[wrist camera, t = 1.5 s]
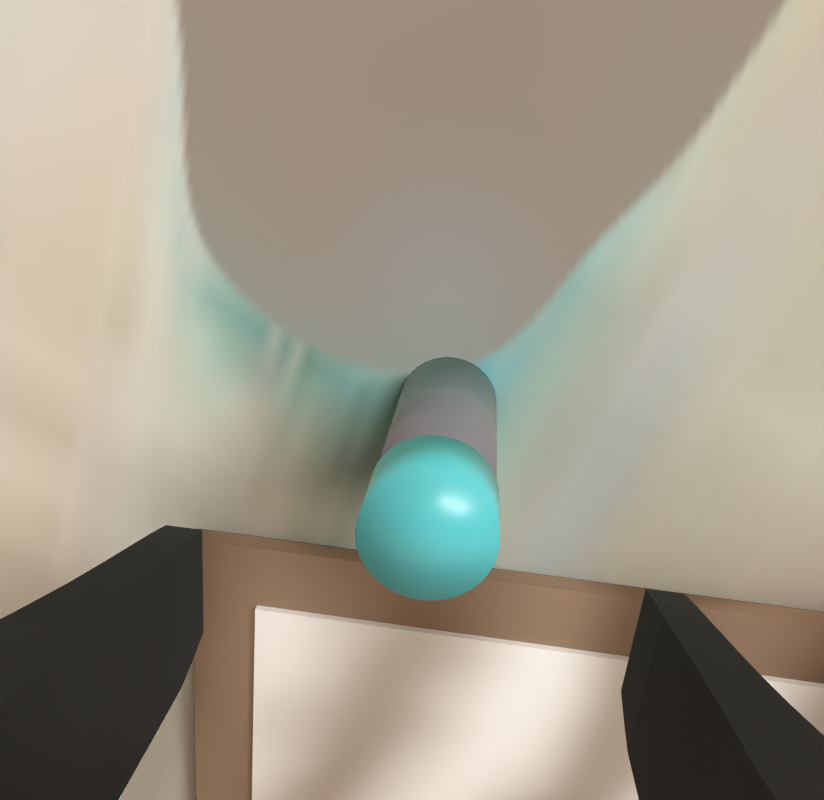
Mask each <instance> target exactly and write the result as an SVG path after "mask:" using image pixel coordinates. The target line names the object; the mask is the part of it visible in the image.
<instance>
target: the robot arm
mask: <svg viewBox="0 0 824 800" xmlns="http://www.w3.org/2000/svg"><path fill="white" fill-rule="evenodd" d="M203 632H204V630H203V558H202V530H198V529H190V528H183V527H175V526H167V525H166V526H164V527H162V528H160V529H158V530H156V531H155V532H153V533H151V534H149V535H148V536H146V537H144V538H143V539H141V540H139V541H138V542H136V543H134V544H133V545H131V546H129V547H128V548H126V549H125V550H123V551H121V552H120V553H118V554H116V555H115V556H113V557H111V558H110V559H108V560H106V561H105V562H103V563H101V564H100V565H98V566H96V567H95V568H93V569H91V570H90V571H88V572H86V573H84V574H83V575H81V576H79V577H78V578H76V579H74V580H73V581H71V582H69V583H67V584H66V585H64V586H62V587H60V588H58V589H56V590H55V591H53V592H51V593H49V594H47V595H45V596H43V597H41V598H40V599H38V600H36V601H34V602H32V603H30V604H28V605H27V606H25V607H23V608H21V609H19V610H17V611H15V612H14V613H12V614H10V615H8V616H6V617H4V618H1V619H0V800H118V799H119V798H120V796H121V794H122V792H123V791H124V789H125V787H126V785H127V784H128V782H129V780H130V778H131V776H132V775H133V773H134V771H135V769H136V768H137V766H138V764H139V762H140V761H141V759H142V757H143V755H144V753H145V752H146V750H147V748H148V746H149V745H150V743H151V741H152V739H153V738H154V736H155V734H156V732H157V731H158V729H159V727H160V725H161V723H162V722H163V720H164V718H165V716H166V714H167V713H168V711H169V709H170V707H171V705H172V704H173V702H174V700H175V698H176V696H177V694H178V693H179V691H180V689H181V687H182V685H183V682H184V680H185V678H186V675H187V673H188V670H189V668H190V665H191V663H192V661H193V658H194V655H195V653H196V650H197V648H198V645H199V642H200V640H201V637H202V635H203ZM621 696H622V706H623V717H624V726H625V735H626V743H627V751H628V756H629V760H630V765H631V769H632V773H633V777H634V782H635V786H636V790H637V794H638V799H639V800H824V735H823V734H822V733H820V732H819V731H818V730H817V729H816V728H815V727H814V726H813V725H812V724H811V723H810V722H809V721H808V720H807V719H805V718H804V717H803V716H802V715H801V714H800V713H799V712H798V711H797V710H796V709H795V708H794V707H793V706H791V705H790V704H789V703H788V702H787V701H786V700H785V699H784V698H783V697H782V696H781V695H780V694H779V693H778V692H777V691H776V690H775V689H774V688H773V687H772V686H771V685H770V684H769V683H768V682H767V681H766V680H765V679H764V678H763V677H762V676H761V675H760V674H759V673H758V672H757V671H756V669H755V668H754V667H753V666H752V665H751V664H750V663H749V662H748V661H747V660H746V659H745V658H744V657H743V656H742V655H741V654H740V653H739V652H738V651H737V649H736V648H735V647H734V646H733V645H732V644H731V643H730V642H729V641H728V640H727V639H726V638H725V636H724V635H723V634H722V633H721V632H720V631H719V630H718V629H717V628H716V627H715V626H714V624H713V623H712V622H711V621H710V620H709V619H708V618H707V617H706V616H705V615H704V614H703V612H702V611H701V610H700V609H699V608H698V607H697V606H696V605H695V604H694V603H693V602H692V601H691V600H690V599H689V598H688V597H687V596H686V595H685V594H681V593H673V592H666V591H658V590H651V589H645V593H644V598H643V602H642V606H641V610H640V614H639V618H638V622H637V626H636V631H635V635H634V639H633V643H632V647H631V651H630V655H629V660H628V664H627V668H626V672H625V676H624V680H623V684H622V688H621Z"/></svg>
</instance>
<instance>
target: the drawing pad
mask: <svg viewBox="0 0 824 800" xmlns="http://www.w3.org/2000/svg"><path fill="white" fill-rule="evenodd" d="M198 530H202V558H203V630H204V632H203V635H202V637H201V640H200V642H199V645H198V648H197V650H196V653H195V655H194V658H193V663H194V713H195V763H196V800H639V799H638V794H637V790H636V786H635V782H634V777H633V773H632V769H631V765H630V760H629V756H628V751H627V743H626V735H625V726H624V717H623V706H622V696H621V688H622V684H623V680H624V676H625V672H626V668H627V664H628V660H629V655H630V651H631V647H632V643H633V639H634V635H635V631H636V626H637V622H638V618H639V614H640V610H641V606H642V602H643V598H644V593H645V588H638V587H630V586H623V585H615V584H608V583H600V582H593V581H585V580H578V579H570V578H563V577H555V576H548V575H540V574H533V573H525V572H518V571H510V570H503V569H495V568H492V569H491V571H490V572H489V574H488V575H487V576H486V577H485V579H484V580H483V581H482V582H481V583H479V584H478V585H477V586H476V587H474V588H473V589H471V590H470V591H468V592H466V593H464V594H462V595H459V596H457V597H453V598H449V599H445V600H435V601H427V600H418V599H412V598H409V597H405V596H402V595H400V594H398V593H395V592H393V591H391V590H390V589H388V588H386V587H385V586H383V585H382V584H381V583H379V582H378V581H377V580H376V579H375V578H374V577H373V576H372V575H371V574H370V572H369V571H368V570H367V569H366V567H365V565H364V564H363V562H362V560H361V558H360V556H359V553H358V550H353V549H345V548H338V547H330V546H323V545H315V544H308V543H300V542H293V541H285V540H278V539H270V538H263V537H255V536H248V535H240V534H233V533H225V532H218V531H210V530H203V529H198ZM651 590H653V589H651ZM658 591H660V590H658ZM666 592H668V591H666ZM673 593H675V592H673ZM681 594H683V593H681ZM685 595H686V596H687V597H688V598H689V599H690V600H691V601H692V602H693V603H694V604H695V605H696V606H697V607H698V608H699V609H700V610H701V611H702V612H703V614H704V615H705V616H706V617H707V618H708V619H709V620H710V621H711V622H712V623H713V624H714V626H715V627H716V628H717V629H718V630H719V631H720V632H721V633H722V634H723V635H724V636H725V638H726V639H727V640H728V641H729V642H730V643H731V644H732V645H733V646H734V647H735V648H736V649H737V651H738V652H739V653H740V654H741V655H742V656H743V657H744V658H745V659H746V660H747V661H748V662H749V663H750V664H751V665H752V666H753V667H754V668H755V669H756V671H757V672H758V673H759V674H760V675H761V676H762V677H763V678H764V679H765V680H766V681H767V682H768V683H769V684H770V685H771V686H772V687H773V688H774V689H775V690H776V691H777V692H778V693H779V694H780V695H781V696H782V697H783V698H784V699H785V700H786V701H787V702H788V703H789V704H790V705H791V706H793V707H794V708H795V709H796V710H797V711H798V712H799V713H800V714H801V715H802V716H803V717H804V718H805V719H807V720H808V721H809V722H810V723H811V724H812V725H813V726H814V727H815V728H816V729H817V730H818V731H819V732H820V733H822V734H823V735H824V612H818V611H810V610H803V609H795V608H788V607H780V606H773V605H765V604H758V603H750V602H743V601H735V600H728V599H720V598H713V597H705V596H698V595H690V594H685Z"/></svg>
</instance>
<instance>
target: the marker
mask: <svg viewBox="0 0 824 800" xmlns="http://www.w3.org/2000/svg"><path fill="white" fill-rule="evenodd" d="M355 539H356V546H357V550H358V553H359V556H360V558H361V560H362V562H363V564H364V565H365V567H366V569H367V570H368V571H369V572H370V574H371V575H372V576H373V577H374V578H375V579H376V580H377V581H378V582H379V583H381V584H382V585H383V586H385V587H386V588H388V589H390V590H391V591H393V592H395V593H398V594H400V595H402V596H405V597H409V598H412V599H418V600H427V601H435V600H445V599H449V598H453V597H457V596H459V595H462V594H464V593H466V592H468V591H470V590H471V589H473V588H474V587H476V586H477V585H478V584H479V583H481V582H482V581H483V580H484V579H485V577H486V576H487V575H488V574H489V572H490V571H491V569H492V567H493V566H494V563H495V561H496V558H497V554H498V550H499V490H498V484H497V480H496V395H495V391H494V388H493V385H492V383H491V382H490V380H489V378H488V377H487V376H486V374H485V373H484V372H483V371H482V370H480V369H479V368H478V367H477V366H475V365H473V364H472V363H470V362H468V361H465V360H462V359H458V358H451V357H444V358H437V359H433V360H430V361H427V362H425V363H423V364H421V365H420V366H418V367H417V368H416V369H415V370H414V371H413V372H412V373H411V374H410V375H409V376H408V378H407V379H406V381H405V383H404V385H403V388H402V391H401V394H400V397H399V401H398V404H397V407H396V410H395V413H394V416H393V419H392V422H391V425H390V429H389V432H388V435H387V438H386V441H385V444H384V447H383V450H382V454H381V457H380V460H379V462H378V463H377V465H376V467H375V469H374V471H373V474H372V477H371V480H370V483H369V486H368V489H367V492H366V495H365V498H364V501H363V504H362V507H361V510H360V513H359V517H358V520H357V523H356V530H355Z"/></svg>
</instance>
